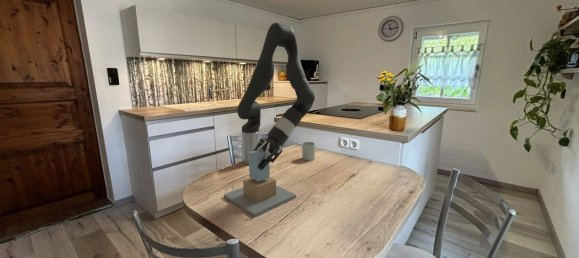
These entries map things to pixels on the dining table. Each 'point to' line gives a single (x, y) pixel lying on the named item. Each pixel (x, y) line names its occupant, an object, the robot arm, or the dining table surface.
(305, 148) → the cup
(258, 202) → the tower base
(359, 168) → the dining table surface
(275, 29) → the robot arm
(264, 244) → the dining table surface
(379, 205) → the dining table surface
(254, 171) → the tower block
